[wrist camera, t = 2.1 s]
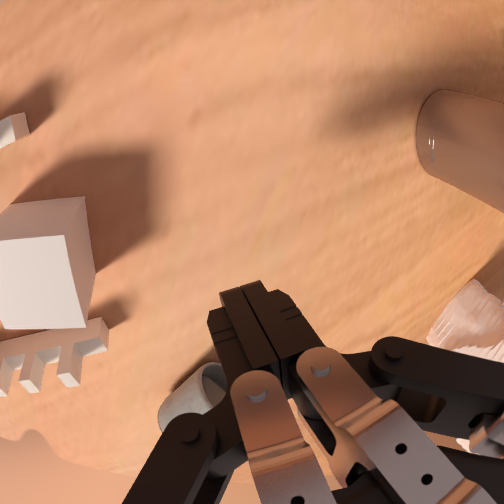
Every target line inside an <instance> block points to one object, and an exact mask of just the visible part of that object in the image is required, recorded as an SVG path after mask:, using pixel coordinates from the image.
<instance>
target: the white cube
mask: <svg viewBox="0 0 504 504" xmlns="http://www.w3.org/2000/svg"><path fill="white" fill-rule="evenodd" d="M95 275H96V271H95V266H94V260H93V254H92V248H91V242H90V235H89V227H88V219H87V211H86V201H85V196H80V197H69V198H59V199H49V200H40V201H32V202H24V203H16V204H10V205H9V206H8V207H7V208H6V209H5V210H4V211H3V212H2V213H1V214H0V319H1V322H2V324H3V326H4V328H5V329H63V328H86V326H87V319H88V313H89V307H90V301H91V296H92V290H93V285H94V280H95Z"/></svg>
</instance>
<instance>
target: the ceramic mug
mask: <svg viewBox="0 0 504 504" xmlns="http://www.w3.org/2000/svg"><path fill="white" fill-rule="evenodd" d="M227 386H228V385H227V380H226V377H225V374H224V372H223V369H222V366H221V363H217V362H209V363H205V364H204V365H202V366H201V367H200V368H199V369H198V370H197V371H196V372H195V373H194V374H192V375H191V376H190V377H189V378H188V379H187V380H186V381H185V382H184V383H183V384H181V385H180V386H179V387H178V388H177V389H176V390H175V391H174V392H173V393H171V394H170V395H169V396H168V397H167V398H166V399H165V400H164V402H163V403H162V405H161V406H160V408H159V411H158V423H159V427H160V429H161V432H162V433H163V431H164V430H165V428H166V426H167V425H168V423H169V422H170V421H171V420H172V419H173V418H175V417H176V416H178V415H180V414H183V413H190V412H193V413H199V414H202V415H203V414H204V413H206V412H207V411H209V410H211V409H212V408H214V407H215V406H216V405H218V404H219V403H220V402H221V401H222V399H223V398H224V396H225V394H226V391H227Z"/></svg>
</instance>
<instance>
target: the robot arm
mask: <svg viewBox="0 0 504 504" xmlns="http://www.w3.org/2000/svg"><path fill="white" fill-rule="evenodd" d="M416 146H417V152H418V156H419V159H420V162H421V164H422V166H423V168H424V169H425V170H426V172H427V173H428V174H430V175H432V176H434V177H436V178H438V179H440V180H442V181H444V182H446V183H448V184H450V185H452V186H454V187H456V188H458V189H460V190H462V191H464V192H466V193H468V194H470V195H472V196H473V197H475V198H477V199H479V200H481V201H483V202H485V203H486V204H488V205H490V206H492V207H494V208H495V209H497V210H499V211H500V212H502V213H504V103H501V102H498V101H494V100H490V99H486V98H482V97H479V96H475V95H470V94H465V93H460V92H455V91H450V90H438V91H436V92H435V93H433V94H432V95H431V96H430V97H429V98H428V99H427V100H426V102H425V104H424V105H423V107H422V110H421V112H420V115H419V119H418V123H417V131H416ZM219 295H220V300H221V304H222V307H221V308H217V309H214V310H211V311H209V315H208V320H207V324H208V327H209V331H210V334H211V337H212V340H213V343H214V346H215V349H216V352H217V355H218V358H219V360H220V363H221V366H222V369H223V372H224V374H225V377H226V380H227V385H228V386H227V391H226V394H225V396H224V398H223V399H222V401H221V402H220V403H219V404H218V405H216V406H215V407H214V408H212V409H211V410H209V411H207V412H206V413H204V414H203V415H202V414H199V413H193V412H190V413H183V414H180V415H178V416H176V417H175V418H173V419H172V420H171V421H170V422H169V423H168V425H167V426H166V428H165V430H164V431H163V433H162V435H161V437H160V438H159V440H158V442H157V444H156V445H155V447H154V449H153V451H152V452H151V454H150V456H149V458H148V459H147V461H146V463H145V464H144V466H143V468H142V470H141V471H140V473H139V475H138V477H137V478H136V480H135V482H134V484H133V485H132V487H131V489H130V490H129V492H128V494H127V496H126V497H125V499H124V501H123V502H122V504H219V503H220V501H221V499H222V496H223V494H224V492H225V490H226V488H227V485H228V483H229V481H230V479H231V476H232V474H233V472H234V470H235V469H236V468H237V467H239V466H240V465H242V464H243V463H245V462H246V461H247V460H249V466H250V469H251V473H252V476H253V479H254V482H255V486H256V489H257V492H258V495H259V498H260V501H261V503H262V504H504V363H502V362H498V361H493V360H489V359H484V358H480V357H476V356H471V355H467V354H463V353H459V352H454V351H450V350H446V349H442V348H438V347H434V346H430V345H426V344H422V343H419V342H415V341H411V340H407V339H403V338H399V337H393V336H391V337H385V338H382V339H380V340H378V341H377V342H376V343H375V344H374V346H373V347H372V351H367V352H361V353H355V354H341V353H339V352H337V351H336V350H334V349H332V348H328V347H326V346H325V345H324V344H323V342H322V341H321V340H320V338H319V337H318V335H317V334H316V333H315V331H314V330H313V328H312V327H311V326H310V324H309V323H308V321H307V320H306V319H305V317H304V316H303V315H302V313H301V312H300V310H299V309H298V307H296V305H295V303H294V302H293V300H292V299H291V298H290V296H289V295H287V294H285V293H284V292H282V291H280V290H278V289H277V290H274V291H271V292H267V290H266V288H265V287H264V285H263V284H262V282H261V281H260V280H258V281H255V282H252V283H249V284H245V285H242V286H240V287H236V288H233V289H229V290H226V291H223V292H220V293H219ZM290 398H293V400H294V401H295V403H296V405H297V409H298V416H299V418H300V419H301V421H302V422H303V424H304V425H305V427H306V428H307V430H308V431H309V433H310V434H311V436H312V437H313V439H314V440H315V442H316V443H317V445H318V446H319V448H320V449H321V451H322V452H323V454H324V455H325V457H326V458H327V460H328V462H329V466H330V469H331V471H332V473H333V475H334V476H335V477H336V479H337V480H338V482H339V484H340V485H341V486H342V489H338V490H334V491H331V490H330V488H329V486H328V484H327V481H326V479H325V477H324V474H323V472H322V470H321V468H320V465H319V463H318V461H317V458H316V456H315V454H314V452H313V450H312V448H311V447H310V445H309V444H308V443H306V442H305V440H304V438H303V436H302V434H301V431H300V429H299V426H298V424H297V422H296V419H295V417H294V415H293V412H292V410H291V407H290V405H289V403H288V399H290ZM423 430H424V431H429V432H433V433H437V434H441V435H446V436H451V437H455V438H460V439H466V440H469V441H470V444H469V450H470V451H471V452H472V453H469V452H465V451H460V450H456V449H452V448H448V447H443V446H436V445H435V444H434V443H433V442H432V440H431V439H430V438H429V437H428V436H427V435H426V434H425V433H424V432H423ZM474 453H478V454H474ZM479 454H480V455H479Z"/></svg>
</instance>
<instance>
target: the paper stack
mask: <svg viewBox="0 0 504 504" xmlns="http://www.w3.org/2000/svg"><path fill="white" fill-rule="evenodd" d="M426 339H427V341H428V343H429V345H430V346H434V347H438V348H442V349H446V350H450V351H454V352H459V353H463V354H467V355H471V356H476V357H480V358H484V359H489V360H493V361H498V362H502V363H504V305H503V304H502V303H501V300H500V299H498V298H497V297H496V296H494V295H492V294H491V293H488V292H487V290H485V289H484V287H483V286H482V285H481V284H480V282H479V281H477V280H475V279H472V280H470V281H469V282H468V283H467V284H465V285H464V286H463V288H462V289H461V290H460V291H459V292H458V293H457V294H456V295H455V296H454V297H453V299H452V300H451V301H450V302H449V304H448V305H447V306H446V308H445V309H444V310H443V312H442V313H441V315H440V316H439V317H438V319H437V320H436V321H435V323H434V324H433V326H432V327H431V330H430V333H429V334H428V336H427V338H426ZM456 440H457V442H458V443H459V444H461V445H462V447H463V448H464V449H466V450H467V452H470V453H472V452H471V451H470V450H469V444H470V441H469V440H466V439H460V438H457V439H456ZM474 454H478V453H474ZM479 455H480V454H479Z"/></svg>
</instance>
